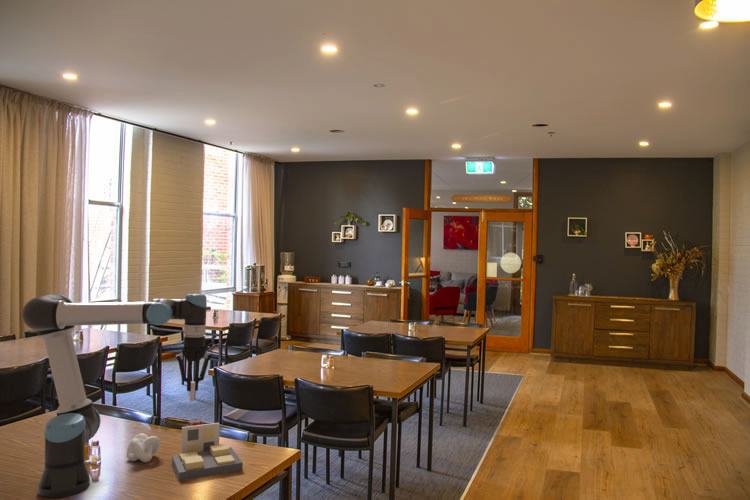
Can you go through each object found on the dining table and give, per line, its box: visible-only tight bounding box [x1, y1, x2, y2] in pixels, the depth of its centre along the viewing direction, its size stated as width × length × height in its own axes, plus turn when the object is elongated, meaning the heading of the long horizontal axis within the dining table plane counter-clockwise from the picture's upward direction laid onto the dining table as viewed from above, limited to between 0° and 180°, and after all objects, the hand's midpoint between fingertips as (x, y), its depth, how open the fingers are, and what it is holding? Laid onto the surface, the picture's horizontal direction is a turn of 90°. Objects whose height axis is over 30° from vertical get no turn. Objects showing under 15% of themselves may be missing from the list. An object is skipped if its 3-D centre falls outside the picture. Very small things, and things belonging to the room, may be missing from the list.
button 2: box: [183, 456, 204, 470], centre depth 202 cm, size 6×6×3 cm
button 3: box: [210, 443, 230, 457], centre depth 215 cm, size 6×6×3 cm
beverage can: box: [186, 418, 204, 427], centre depth 226 cm, size 6×6×12 cm
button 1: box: [179, 452, 198, 462], centre depth 210 cm, size 6×6×3 cm
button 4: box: [215, 455, 235, 465], centre depth 207 cm, size 6×6×3 cm
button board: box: [171, 422, 244, 482], centre depth 210 cm, size 22×22×12 cm
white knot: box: [126, 432, 161, 463], centre depth 216 cm, size 11×12×9 cm
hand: (191, 399), depth 208 cm, fingers closed
